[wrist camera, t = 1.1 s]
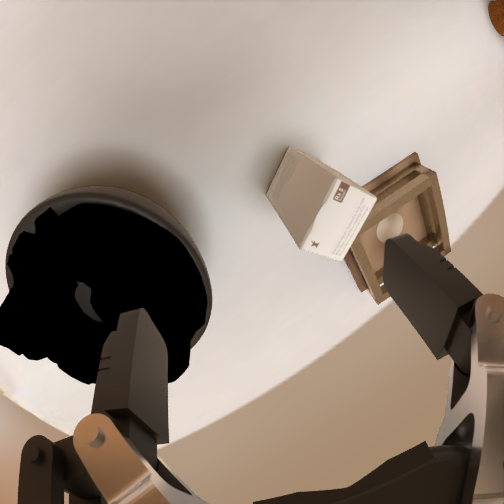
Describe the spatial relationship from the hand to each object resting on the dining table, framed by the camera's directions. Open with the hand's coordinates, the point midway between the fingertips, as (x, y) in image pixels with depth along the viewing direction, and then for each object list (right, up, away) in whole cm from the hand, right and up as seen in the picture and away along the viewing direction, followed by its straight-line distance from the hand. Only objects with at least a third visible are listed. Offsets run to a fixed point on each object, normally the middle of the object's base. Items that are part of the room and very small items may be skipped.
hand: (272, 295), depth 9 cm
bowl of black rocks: (-16, +2, +23) cm, 28 cm away
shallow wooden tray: (+17, +5, +28) cm, 33 cm away
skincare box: (+4, +10, +22) cm, 24 cm away
